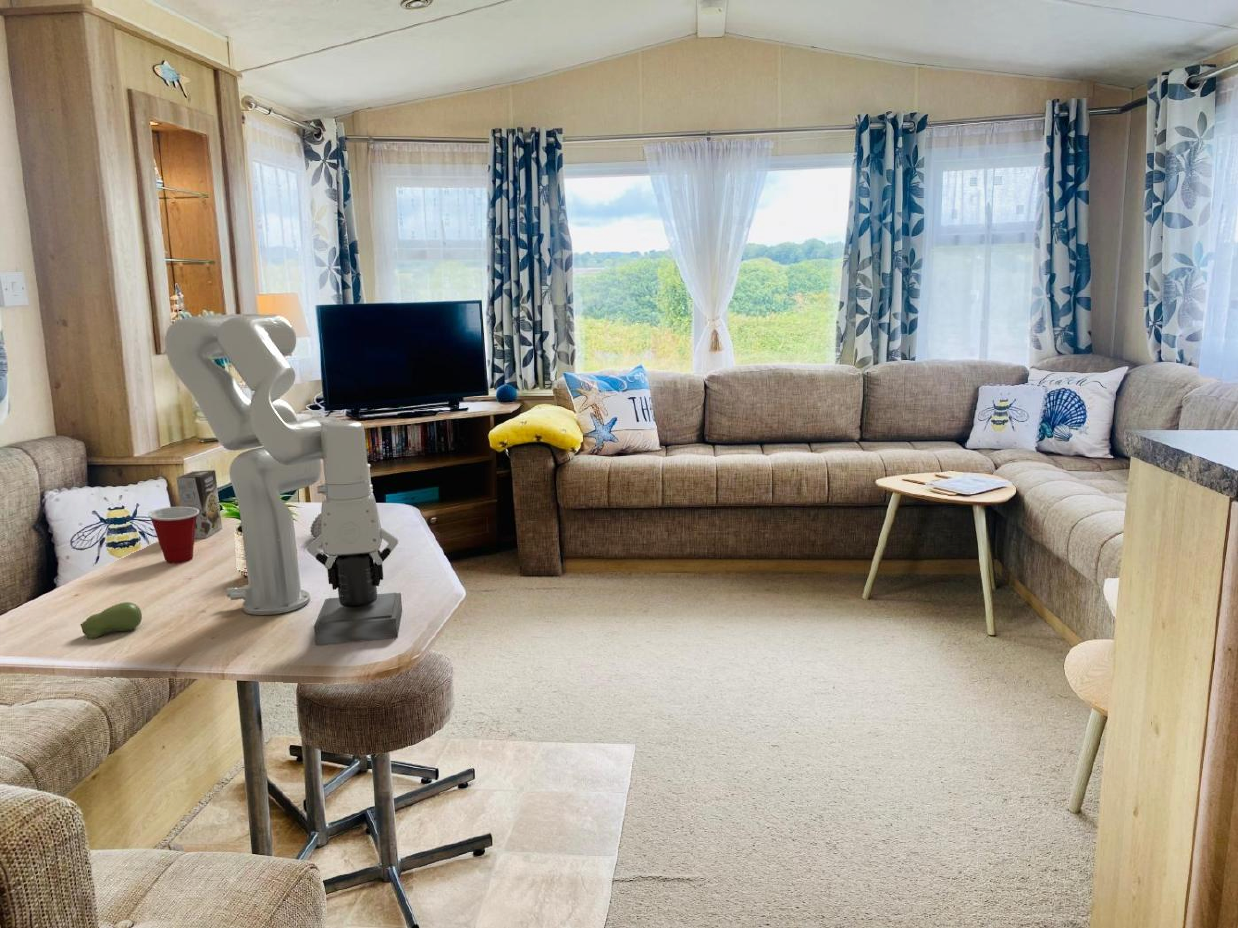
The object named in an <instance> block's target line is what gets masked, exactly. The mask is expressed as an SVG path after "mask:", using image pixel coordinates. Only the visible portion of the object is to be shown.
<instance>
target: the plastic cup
mask: <svg viewBox="0 0 1238 928" xmlns="http://www.w3.org/2000/svg"><path fill="white" fill-rule="evenodd" d="M198 514H199V510H198V509H196V508H192V507H180V506H170V507H164V508H163V507H161V508H158V509H155V510H152V511H150V512H148V518H149V519H150V521H151V523H152V525H153V528H154V531H155V534H156V538H157V540H158V544H159V546H160V550H161V552H162V555H163V557H164V561H165V562H166V564H172V565H173V564H181V563H182V564H183V563H186V562H189V561H191V560H193V557H194V546H195V538H194V536H195V524H196V520H197V516H198Z"/></svg>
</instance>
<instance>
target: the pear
mask: <svg viewBox="0 0 1238 928" xmlns="http://www.w3.org/2000/svg"><path fill="white" fill-rule="evenodd" d="M142 620H143V614H142V610H141V608H140V607H139V606H138V605H137V604H136V603H134V602H129V601H127V602H126V601H125V602H121V603H117V604H115V605H112V606H110V607H107V608H106V609H103V611H100V612H99V613H95V614H92V615H90V616H89V617H87V618H86V620H85V621H83V622H82V623H80V624H79V626H80V627H81V629H82V630H81V631H82V633H83V634H84V635H85V636H86V638H87V640H88V639H91V640H93V639H96V638H99V637H101V636H102V635H103V634H105V633H107V632H110V631H112V632H113V631H116V632H128V631H129V632H130V631H132V630H135V629H136V628H138V626H140V624H141V622H142Z"/></svg>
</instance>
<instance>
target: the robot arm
mask: <svg viewBox="0 0 1238 928" xmlns="http://www.w3.org/2000/svg"><path fill="white" fill-rule="evenodd" d="M164 345H165V352H166V356H167V359H168V361H169V364H170V366H171V368H172V370H173V372H174V373H175V375H176V377H177V378H178V379H179V380H180V381H181V382H182V384H183V385H184V387H186V389H187V390H188V391H189V392H190V394H191V395H192V396H193V398H194V400H195V401H196V403H197V405H198V406H199V410H200V411H201V413H202V414H203V417H204V418H205V420H206V422H207V424H208V425H209V427H210V429H211V430H212V433H213V434H214V436H215V437H216V439H217V441H218V442H219V444H220V445H221V446H222V447H223V448H224V449H226V450H227V451H233V452H234V451H235V452H236V451H244V450H247V451H244V452H241V453H240V454H237V456H236V457H234V458H233V460H232V461H231V463H230V465H229V466H230V467H229V470H228V471H229V479H230V482H231V487H232V489H233V492H234V495H235V497H236V498H235V499H236V501H237V505H238V507H237V508H238V512H239V516H240V525H241V532H242V540H243V549H244V559H245V564H246V565H245V566H246V574H247V581H248V582H247V583H248V584H246V585H243V586H242V587H238V586H237V587H235V586H234V587H227V588H226V596H227V598H228V599H229V598H230V601H236V600H243V602H242V604H241V605H242V610H243V612H245V613H247V614H250V615H255V616H268V615H269V616H271V615H278V614H283V613H289V612H292V611H295V610H298V609H301V608H302V607H305V606H306V605H307V604H309V603H310V600H311V596H310V592H308V591H307V590H305V589H301V588H302V587H301V578H300V570H299V569H300V568H299V560H298V559H299V557H298V552H297V551H298V550H297V540H296V532H295V525H294V523H295V522H294V517H293V513H292V511H291V509H290V508H289V506H288V505H287V503H285V502H284V500H283V499H282V498H281V496H280V495H282V494H285V493H289V492H293V491H297V490H301V489H304V488H308V487H310V486H313V485H314V484H316V483H317V482H318V481H319V479H320V478H321V475H322V466H323V473H324V483H323V484H322V485H317V486H316V488H317V489H316V491H317V494H322V495H324V496H325V498H324V499H323V500H321V501H322V502H321V509H320V510H321V511H320V512H321V513H320V514H321V534H320V535H319V536H318V537H317V538H315V539H314V540H313V541H312V542H311V543H310V544H309V545H308V546H307V547H306V551H307V552H308V553H309V554H310V555H311V556H313V557H314V558H315V559H316V561H317V562H319V563H320V564H321V565H323V566H324V568H325V569H327V570H326V571H327V580H328V584H329V585H331V586H332V587H331V588H332V590H333V591H334V590H338V587H337V579H336V570H335V558H336V556H340V555H354V554H366V553H370V555H371V556H372V558H373V560H374V565H373V571H374V582H375V586H376V587H380V584H381V581H384V571H383V570H384V569H383V568H384V567H383V562H384V561H385V560H387V558H388V557H389V556H390V554H391V553H392V552H393V551H394V550H395V548H396V547H397V546H398V545H399V544H398V543H399V539H398V538H397V537H395V536H394V535H393V534H391V533H390V532H388V531H387V530H385V529H384V528H382V527H381V521H380V519H381V518H380V514H379V509H378V505H377V502H376V498H375V495H374V494H373V495H372V494H370V486H369V475H368V464H369V463H368V455H367V442H366V432H365V428H364V424H362V423H361V422H360V421H356V420H341V419H339V418H337V417H332V416H319V417H315V418H308V419H302V420H300V419H299V416H298V415H297V414H296V411H295V410H294V409H293V407H292V406H291V405H290V404H288V402H286V401H284V400H283V399H281V397H283V396H284V395H285V394H286V393H287V392H288V391H289V390H290V389H291V388H292V386H294V382H296V373H295V369H294V367H292V365H291V364H290V362H289V361H288V359H286V357H288V356H289V355H291V354H292V353H293V352H294V351H295V349H296V346H297V335H296V331H295V329H294V327H293V326H292V324H291V323H290V322H289V321H288V320H287V319H286V318H285V317H283V316H281V315H278V314H273V313H272V314H259V313H257V314H256V313H255V314H254V313H253V314H252V313H233V314H218V315H217V314H215V315H198V316H197V315H195V316H190V317H189V316H188V317H185V318H182V319H179V320H176V321H175V322H173V323H171V324H170V325H169V327H168V328H167V330H166V332H165V336H164ZM216 359H218V360H219V359H227V360H228V361H229V362H230V364H231V365H232V367H233V368H234V369H235V371H236V372H237V373H238V374H239V376H240V378H241V379H242V380H243V381H244V384H246V386H247V387H248V389H249V390H250V391H251V393H252V396H251V398H250V397H248V396H247V395H246V394H245V392H244V391H243V388H241V386H240V383H239V382H238V380H237V379H236V378H235V377H234V376H233V375H232V374H231V373H230V372H229V371H227V370H226V369H224V368H223V367H222V366H220V365H218V364H217V363H215V362H214V361H213V360H216ZM321 460H322V462H323V465H322V462H321ZM383 540H384V541H385V542H387V545H386V546H385V548H383V549H382V550H380V548H381V546H382V541H383ZM321 544H322V545H321ZM320 545H321V547H322V551H321V550H320V549H319V548H318V547H319V546H320Z"/></svg>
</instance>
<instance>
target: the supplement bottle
mask: <svg viewBox="0 0 1238 928" xmlns="http://www.w3.org/2000/svg"><path fill="white" fill-rule="evenodd" d="M334 562H335V570H336V579H337V595H338V598H339V602H340V604H341V605H342V606H344V607H350V608H354V607H362V606H366V605H369V604H371V603H373V602H375V601H376V599H377V594H378V586H375V582H374V571H373V565H374V559H373V558H372V556H371V555H370V553H366V554H354V555H340V556H336V558H335V560H334Z"/></svg>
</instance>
